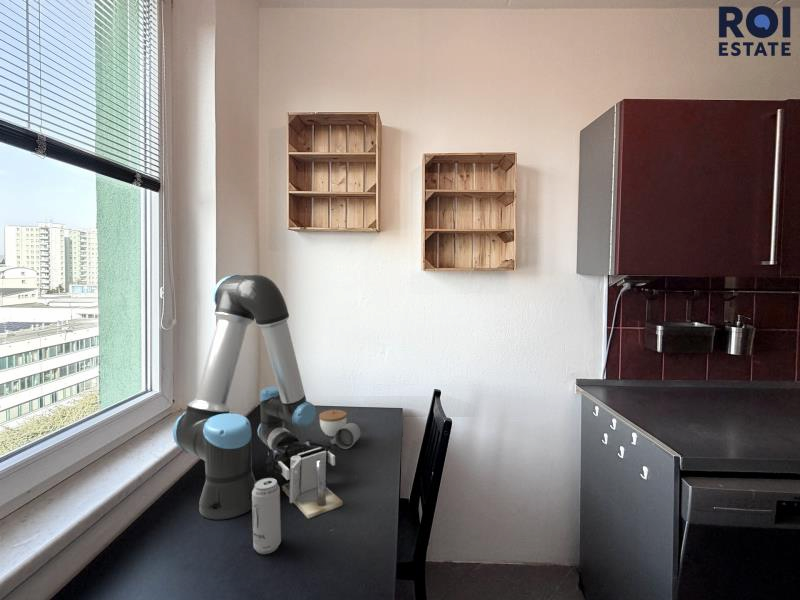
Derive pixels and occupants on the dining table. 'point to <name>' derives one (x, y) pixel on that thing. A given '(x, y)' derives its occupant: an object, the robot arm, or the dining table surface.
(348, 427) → the ceramic mug
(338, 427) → the lidded jar
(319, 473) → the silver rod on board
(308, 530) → the dining table surface
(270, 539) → the energy drink can
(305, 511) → the mounting board
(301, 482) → the hinge
